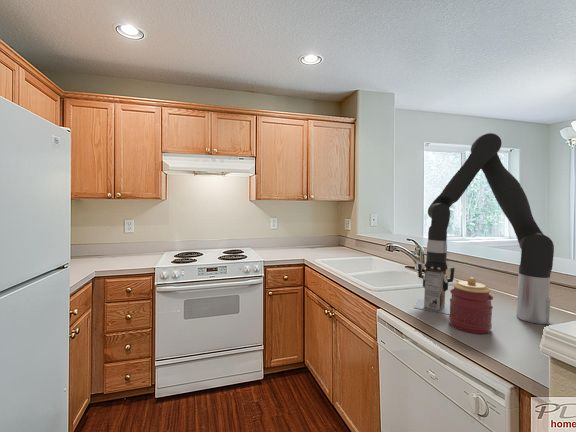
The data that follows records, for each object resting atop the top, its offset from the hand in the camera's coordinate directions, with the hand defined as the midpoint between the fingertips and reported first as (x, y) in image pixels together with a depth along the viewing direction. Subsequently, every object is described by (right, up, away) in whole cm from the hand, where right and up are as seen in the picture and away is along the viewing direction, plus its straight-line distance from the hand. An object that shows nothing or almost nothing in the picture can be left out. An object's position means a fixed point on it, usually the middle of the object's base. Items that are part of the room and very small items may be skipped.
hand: (434, 289), depth 125 cm
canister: (+2, -8, -20) cm, 22 cm away
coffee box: (0, -7, 0) cm, 7 cm away
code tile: (0, -7, 0) cm, 7 cm away
